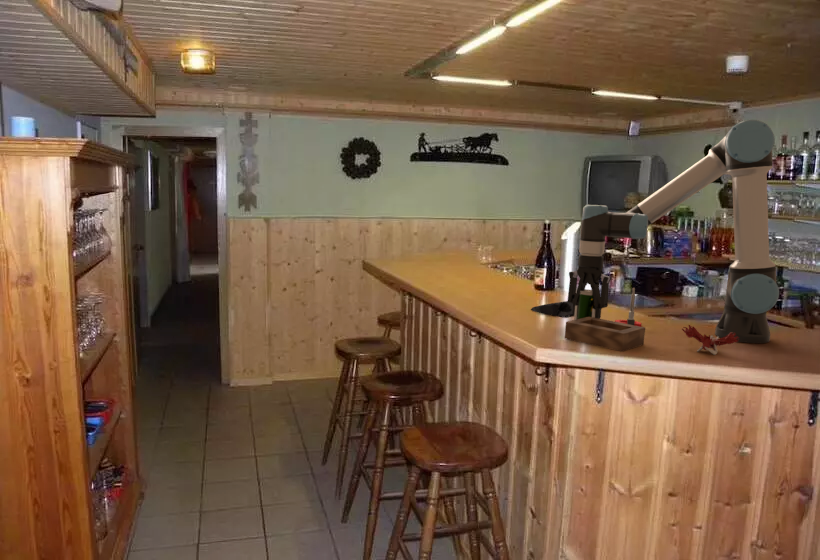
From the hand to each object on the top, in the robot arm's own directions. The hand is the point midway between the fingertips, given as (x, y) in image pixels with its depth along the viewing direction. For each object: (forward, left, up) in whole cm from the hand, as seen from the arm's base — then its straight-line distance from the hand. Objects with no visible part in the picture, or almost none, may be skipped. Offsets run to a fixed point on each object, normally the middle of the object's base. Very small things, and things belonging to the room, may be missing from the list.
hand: (585, 326), depth 201 cm
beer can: (0, 0, -1) cm, 1 cm away
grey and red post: (-6, -17, -1) cm, 18 cm away
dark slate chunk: (+20, -18, -1) cm, 27 cm away
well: (-13, +12, 0) cm, 18 cm away
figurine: (-37, -2, -1) cm, 37 cm away
